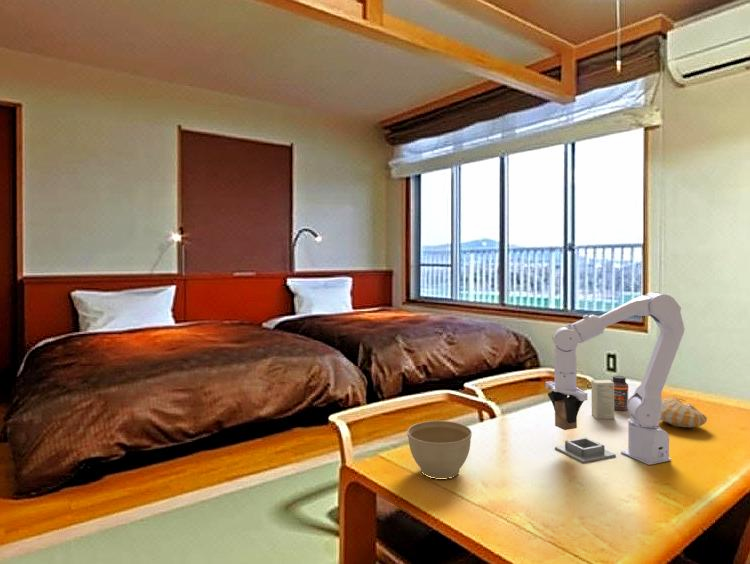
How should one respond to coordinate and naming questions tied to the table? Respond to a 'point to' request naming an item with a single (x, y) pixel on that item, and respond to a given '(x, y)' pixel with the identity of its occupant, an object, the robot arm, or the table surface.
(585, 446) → the stand
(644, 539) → the table surface
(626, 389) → the supplement bottle
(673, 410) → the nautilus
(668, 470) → the table surface
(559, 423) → the walnut block
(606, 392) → the skincare box
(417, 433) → the planter bowl
